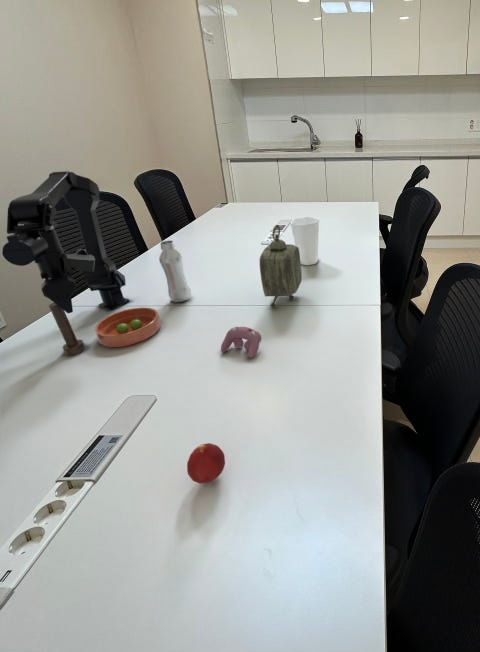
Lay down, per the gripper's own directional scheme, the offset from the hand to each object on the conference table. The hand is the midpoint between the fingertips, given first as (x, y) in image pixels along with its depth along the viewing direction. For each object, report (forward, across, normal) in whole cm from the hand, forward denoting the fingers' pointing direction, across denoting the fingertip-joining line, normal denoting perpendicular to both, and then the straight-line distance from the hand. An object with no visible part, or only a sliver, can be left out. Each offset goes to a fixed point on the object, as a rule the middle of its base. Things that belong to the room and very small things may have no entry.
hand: (69, 305), depth 101 cm
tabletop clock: (+12, -14, -54) cm, 57 cm away
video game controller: (+12, -32, -32) cm, 47 cm away
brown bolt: (+11, -3, +2) cm, 12 cm away
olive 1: (+9, -3, -9) cm, 14 cm away
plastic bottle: (+12, +9, -27) cm, 31 cm away
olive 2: (+9, -3, -13) cm, 16 cm away
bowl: (+12, -3, -11) cm, 16 cm away
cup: (+12, +10, -76) cm, 77 cm away
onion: (+11, -65, -14) cm, 67 cm away
